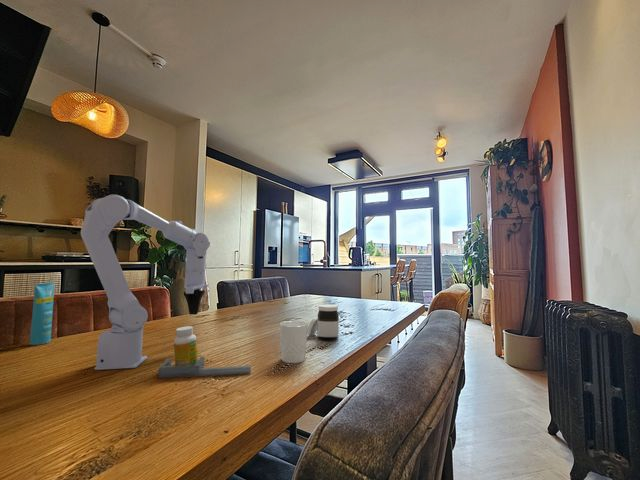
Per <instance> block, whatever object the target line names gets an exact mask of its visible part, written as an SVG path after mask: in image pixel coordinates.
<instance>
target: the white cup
mask: <svg viewBox="0 0 640 480" xmlns="http://www.w3.org/2000/svg"><path fill="white" fill-rule="evenodd" d="M308 326H309V324H308V322H306V321H302V320H285V321H282V322H280V323H279V332H280V333H279V334H280V335H279V336H280V337H279V339H280V340H279V341H280V342H279V343H280V360H281V361H282V362H284V363H287V364H299V363H302V362H304V361H306V351H307V342H308V341H307V340H308V333H307V330H308Z"/></svg>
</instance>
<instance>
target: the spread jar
mask: <svg viewBox="0 0 640 480" xmlns="http://www.w3.org/2000/svg"><path fill="white" fill-rule="evenodd" d="M338 307H339V306H338V305H337V304H331V303H330V304H329V303H328V304H327V303H326V304H319V305H318V312H317V316H314V317H313V318H312V319H311V321H310V322H309V324H308V329H307V335H310V336H311V337H312V336H314V335H315V334H316V336H317V340H319V341H322V342H335V341H337V340H338V339H339V335H340V333H339V330H340V329H339V327H340V326H339V324H340V319H339V311H338Z"/></svg>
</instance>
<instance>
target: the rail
mask: <svg viewBox="0 0 640 480" xmlns="http://www.w3.org/2000/svg"><path fill="white" fill-rule="evenodd" d="M251 372H252V365H241V366H240V365H236V366H216V367H205V356H200V357H199V358H198V362H197V364H193V365H175V364H174V365H172V358H171V357H167V358H166V359H165V361H163V362H162V364H160V365H159V367H158V374H157V376H158V378H157V379H175V378H178V379H179V378H191V377H208V376H209V377H211V376H226V375H228V376H229V375H244V374H251Z"/></svg>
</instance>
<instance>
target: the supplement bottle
mask: <svg viewBox="0 0 640 480" xmlns="http://www.w3.org/2000/svg"><path fill="white" fill-rule="evenodd" d="M193 333H194V327H193V326H192V325H189V326H182V327H181V326H180V327H178V328H176V329H175V335H176V337H175V338H174V340H173V351H174V365H193V364H197V362H198V360H199V358H198V356H199V355H198V341H197V336H196V335H195V334H193Z"/></svg>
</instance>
